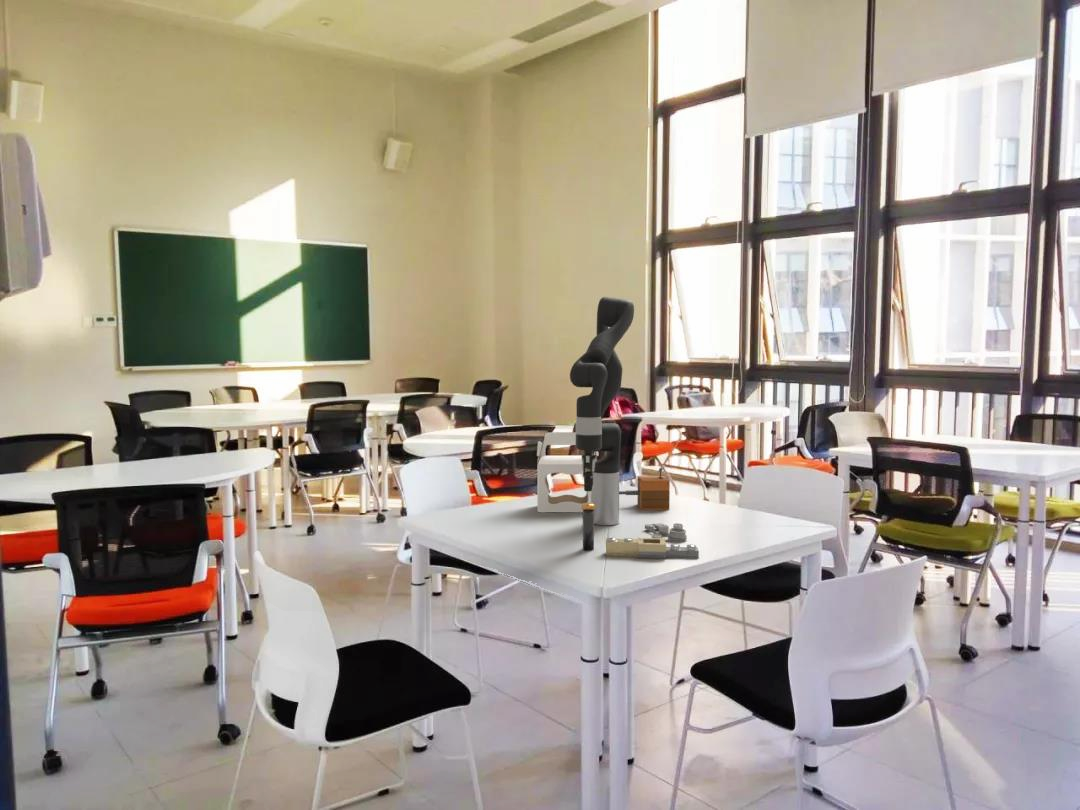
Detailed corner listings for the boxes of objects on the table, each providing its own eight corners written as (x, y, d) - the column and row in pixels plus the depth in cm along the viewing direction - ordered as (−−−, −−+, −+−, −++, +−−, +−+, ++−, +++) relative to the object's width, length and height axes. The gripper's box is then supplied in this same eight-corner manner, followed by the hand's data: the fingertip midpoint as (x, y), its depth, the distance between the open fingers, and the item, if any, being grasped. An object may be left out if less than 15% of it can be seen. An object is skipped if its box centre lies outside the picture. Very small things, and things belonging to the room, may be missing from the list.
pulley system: (693, 534, 257) (646, 528, 262) (694, 519, 256) (647, 513, 261) (678, 558, 231) (627, 551, 236) (679, 542, 230) (627, 535, 235)
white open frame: (597, 505, 298) (597, 430, 296) (599, 513, 285) (599, 434, 283) (537, 505, 299) (536, 430, 297) (536, 513, 285) (536, 434, 283)
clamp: (610, 504, 300) (611, 466, 299) (664, 504, 301) (664, 466, 300) (614, 510, 290) (614, 471, 289) (669, 510, 290) (669, 470, 289)
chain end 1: (606, 550, 232) (606, 535, 231) (664, 552, 230) (664, 536, 230) (605, 557, 224) (605, 541, 224) (666, 559, 222) (666, 543, 222)
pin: (581, 547, 236) (581, 502, 235) (595, 547, 235) (595, 503, 234) (581, 550, 232) (581, 505, 231) (595, 551, 231) (595, 505, 230)
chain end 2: (637, 551, 231) (637, 541, 230) (696, 552, 229) (696, 542, 229) (638, 558, 223) (638, 547, 223) (699, 559, 221) (699, 549, 221)
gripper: (601, 435, 224) (601, 493, 225) (602, 430, 238) (602, 484, 239) (574, 435, 224) (574, 492, 225) (577, 430, 238) (577, 484, 240)
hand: (588, 488), depth 232 cm, fingers open, 8 cm apart
